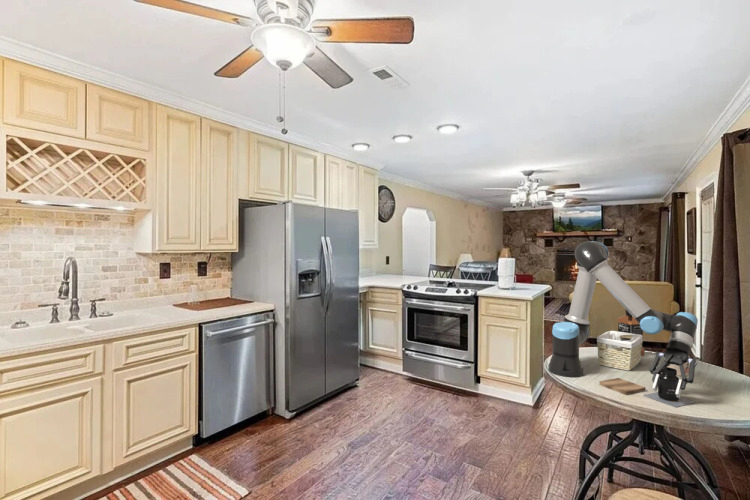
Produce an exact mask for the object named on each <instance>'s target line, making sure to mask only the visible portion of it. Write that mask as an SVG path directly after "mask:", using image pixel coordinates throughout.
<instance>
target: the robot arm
mask: <svg viewBox="0 0 750 500" xmlns="http://www.w3.org/2000/svg"><path fill="white" fill-rule="evenodd" d="M609 255H610V254H609V250H608V247H607V245H605V244H603V242H600V241H595V240H591V241H588V240H587V241H583V242H581V243H579V244H577V246H576V248H575V250H574V257H575V258H574V259H575V260H576V261H577V262H576V267H577V268H578V273H577V276H576V277H577V278H576V282H575V285H574V290H573V294H572V298H571V299H572V300H571V304H570V307H569V311H568V314H566V315H565V316H564V318H563V321H561V322H555V323H554V324H553V325H552V331H551V334H552V337H551V339H552V340H551V341H552V349H551V350H552V351H551V353H552V355H551V358H550V360H549V363H548V372H550V373H552V374H555V375H558V376H561V377H568V378H569V377H570V378H579V377H582V376H583V375H584V368H583V367H582V362H581V360H580V345H582V344H584V343H585V342H586V341H587V340H588V339H589V336H590V329H589V328H590V324H591V322H590V321H589V319H588V318H589V313H590V309H591V305H592V301H593V297H594V292H595V289H596V285H597V280H598V281H599V282H600V283H601V285H602V286H603V287H604V288H606V290H607V291H608V292H609V293H610V294H611V295H612V296H613V297H614V298H615V299H616V300H617V302H618V303H620V305H621V306H622V307H623V308H624V309H625V310H627V311H628V312H629V313H630V314H631V315H632V316H633V317H634V318H635V319H636V321H637V322H638V323H639V324H640V327H641V329H642V330H643V333H646V334H649V335H656V334H659V333H661V332H662V331H666V332H670V335H669V338H668V342H667V345H666V348H665V351H664V352H660V351H655V357H654V359H653V361H652V363H651V365H650V367H649V369H648V371H649V373H650V374H651V375H653V376H652V379H651V380H652V383H653V384H652V389H653V392H658V376H659V374H661V373H662V372H661V371H662V367H668V366H669V365H670V364H675V365H677V366H679V368H680V372H681V376H680V377H681V378H679V382H678V386H677V390H676V393H675V394H676V396H677V397H678V398H679V397H681V393H682V390H683V391H685V390H686V388H687V387H686V386H687V384H694V379H695V372H696V371H695V369H696V366H697V365H698V362H697V359H695V358H691V357H690V353H691V348H692V345H693V342H694V337H695V333H696V332H697V331H696V330H697V326H698V322H699V320H698V317H697V316H696V315H695V314H693V313H691V312H689V311H684V312H683V311H680V312H678V313H676V314H671V313H666V312H662V311H658V310H655V309H652V308H651V307H650V306H649V305H648V304H647V303H646V302H645V301H644V300H643V299H642V298H641V297H640V295H638V294H637V293H636V291H634V290H633V288H632V287H630V286H629V285H628V283H627V282H626V281H625V280H624V279H623V278H622V277H621V276H620V275H619V274H618V273H617V272H616V271H615V270H614V269H613V268H612V266H611V265H609V264H608V258H609ZM663 357H664V359H663V361H662V362H661V360H662V358H663ZM689 357H690V358H689ZM688 361H689V376H686V375H685V371H684V366H683V364H684V363H686V362H688ZM660 362H661V364H660ZM659 364H660V365H659Z"/></svg>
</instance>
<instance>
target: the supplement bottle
mask: <svg viewBox="0 0 750 500" xmlns="http://www.w3.org/2000/svg"><path fill="white" fill-rule="evenodd" d="M661 372H662V373H661V374H659V376H658V388H657V392H658V396H659V397H660V398H662V399H664V400H668V401H678V400H679V398H678V397H677V396H676V394H675V393H676V390H677V386H678V382H679V379H680V378H679V376H676V375H677V370H676V369H673V368H669V367H662V371H661Z"/></svg>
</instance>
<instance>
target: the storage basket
mask: <svg viewBox="0 0 750 500" xmlns="http://www.w3.org/2000/svg"><path fill="white" fill-rule="evenodd" d="M620 337H622V338H627V339H630V340H627V341H621V340H620ZM642 338H643V339H642ZM596 342H597V343H596V346H597V359H598V365H601V366H605V367H608V368H614V369H616V370H617V369H618V370H622V371H623V370H624V371H631V370H632V369H634V368H635V367H636V366H637V365H638V364H639V363H640V362H641V356H640V355H641V346H642V342H643V343H644V335H643V336H642V335H639V334H632V333H625V332H618V330H617V331H616V330H609V331H606V332H604V333H602V334H599V335H598V336H597V337H596Z"/></svg>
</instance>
